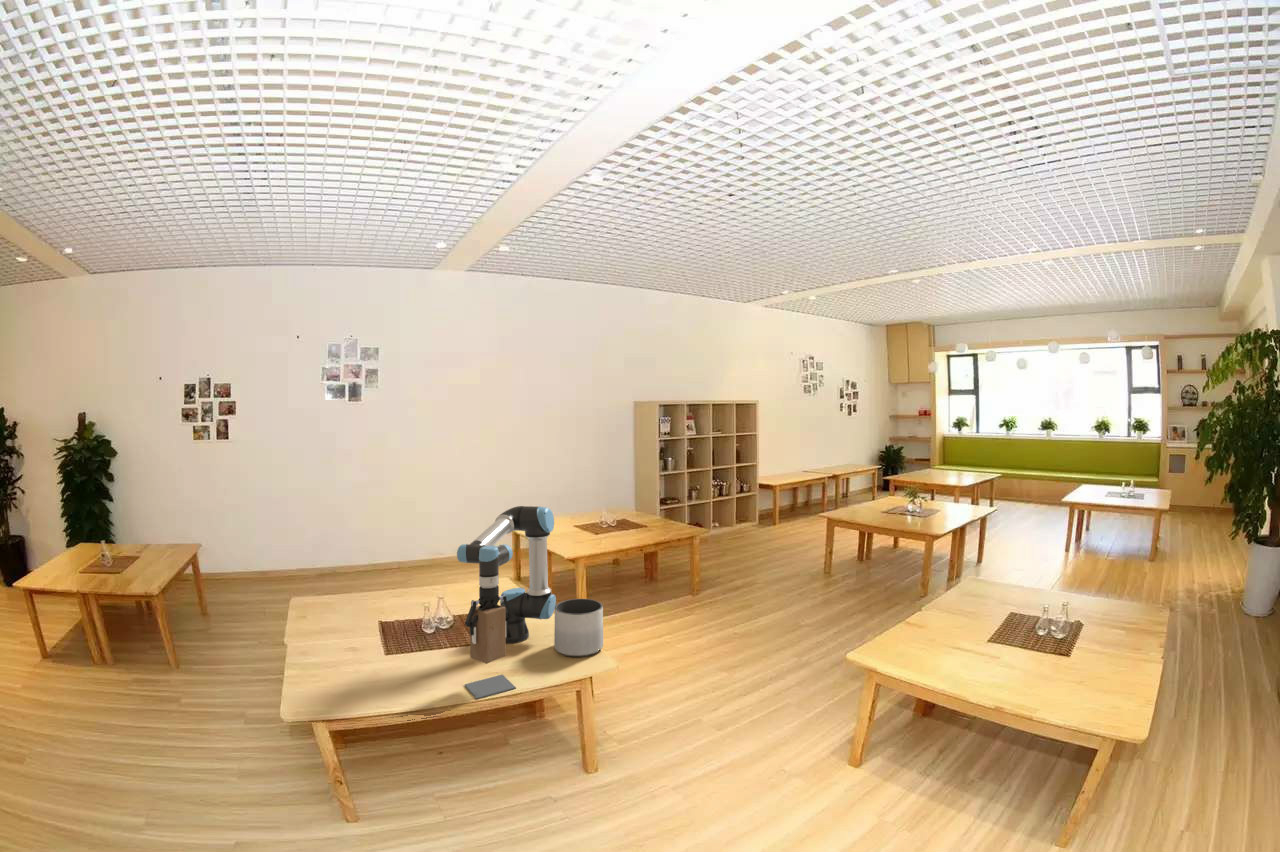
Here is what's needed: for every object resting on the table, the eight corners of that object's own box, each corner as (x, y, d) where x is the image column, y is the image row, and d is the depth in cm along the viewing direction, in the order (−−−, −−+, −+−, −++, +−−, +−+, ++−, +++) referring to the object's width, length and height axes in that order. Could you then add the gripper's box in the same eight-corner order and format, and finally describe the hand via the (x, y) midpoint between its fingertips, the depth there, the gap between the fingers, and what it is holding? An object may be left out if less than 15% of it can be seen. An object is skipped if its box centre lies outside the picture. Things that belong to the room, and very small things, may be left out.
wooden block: (486, 664, 238) (486, 613, 237) (469, 658, 244) (469, 608, 243) (506, 655, 246) (505, 606, 245) (489, 650, 252) (489, 602, 251)
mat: (464, 685, 246) (464, 684, 246) (502, 675, 255) (502, 674, 255) (476, 699, 235) (476, 698, 235) (515, 688, 244) (515, 687, 244)
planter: (545, 646, 286) (545, 604, 285) (586, 635, 299) (586, 595, 299) (570, 663, 268) (570, 618, 267) (612, 650, 281) (612, 607, 281)
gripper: (462, 593, 234) (462, 649, 234) (521, 583, 247) (521, 636, 248) (456, 588, 240) (456, 642, 240) (513, 578, 253) (514, 630, 254)
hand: (489, 639), depth 244 cm, fingers closed on wooden block, 12 cm apart
